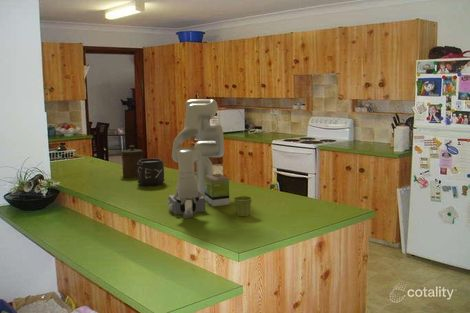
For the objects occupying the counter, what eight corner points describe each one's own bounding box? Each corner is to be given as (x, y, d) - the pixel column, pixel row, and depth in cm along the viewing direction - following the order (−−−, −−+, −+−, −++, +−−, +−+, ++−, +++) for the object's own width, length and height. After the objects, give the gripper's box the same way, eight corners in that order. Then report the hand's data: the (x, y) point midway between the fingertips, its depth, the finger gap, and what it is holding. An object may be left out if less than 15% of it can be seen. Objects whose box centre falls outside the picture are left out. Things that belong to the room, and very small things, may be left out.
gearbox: (198, 205, 271) (197, 187, 270) (205, 211, 258) (205, 193, 257) (166, 208, 265) (165, 191, 264) (171, 215, 252) (171, 196, 251)
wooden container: (131, 173, 370) (129, 143, 367) (148, 174, 364) (146, 144, 361) (118, 176, 357) (116, 146, 354) (135, 178, 351) (133, 146, 347)
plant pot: (229, 215, 249) (229, 198, 248) (243, 211, 256) (242, 195, 254) (243, 218, 243) (242, 201, 241) (256, 214, 249) (256, 197, 248)
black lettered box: (132, 186, 323) (131, 162, 320) (144, 181, 340) (142, 158, 337) (158, 187, 318) (157, 163, 316) (169, 181, 336) (167, 158, 333)
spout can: (191, 214, 251) (191, 195, 250) (194, 217, 247) (193, 197, 245) (182, 216, 250) (181, 196, 248) (184, 218, 245) (184, 198, 243)
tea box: (204, 200, 281) (203, 174, 279) (221, 198, 284) (220, 173, 282) (212, 206, 267) (211, 179, 265) (230, 204, 270) (229, 177, 268)
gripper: (201, 172, 251) (202, 207, 254) (167, 175, 245) (169, 211, 248) (205, 175, 244) (206, 211, 247) (171, 178, 238) (173, 215, 241)
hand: (188, 211), depth 248 cm, fingers closed on spout can, 4 cm apart
